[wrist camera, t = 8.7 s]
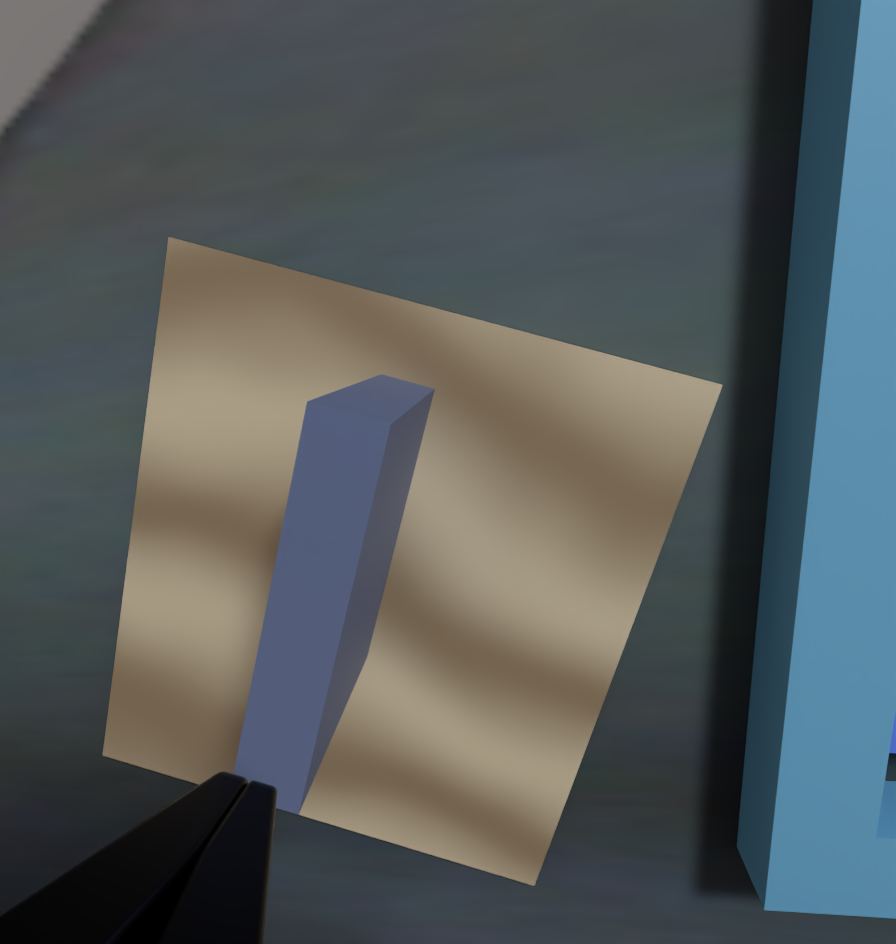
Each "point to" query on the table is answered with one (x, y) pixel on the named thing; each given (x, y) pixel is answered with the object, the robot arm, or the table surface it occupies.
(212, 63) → the table surface
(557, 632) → the wooden mat
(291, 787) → the card deck
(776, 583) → the tetris game
